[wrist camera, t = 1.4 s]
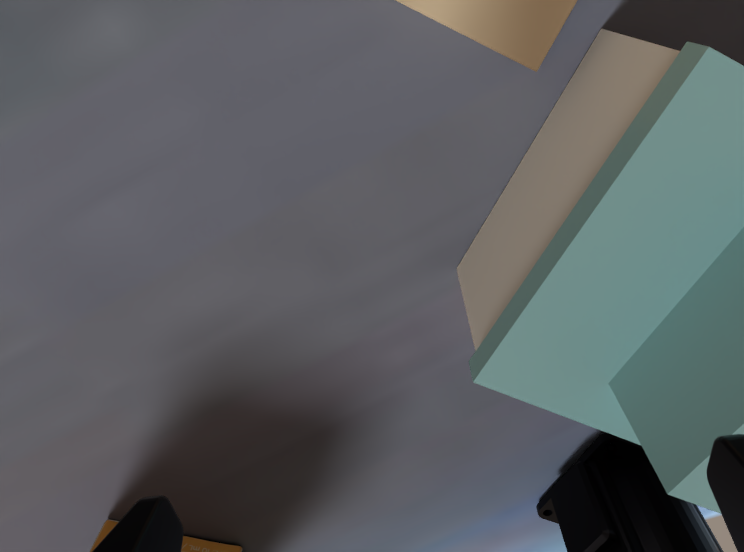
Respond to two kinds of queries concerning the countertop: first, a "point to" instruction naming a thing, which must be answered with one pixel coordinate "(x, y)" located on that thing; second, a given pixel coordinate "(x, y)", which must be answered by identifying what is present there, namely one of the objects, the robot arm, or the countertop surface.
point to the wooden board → (503, 23)
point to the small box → (192, 548)
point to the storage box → (558, 170)
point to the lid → (645, 285)
